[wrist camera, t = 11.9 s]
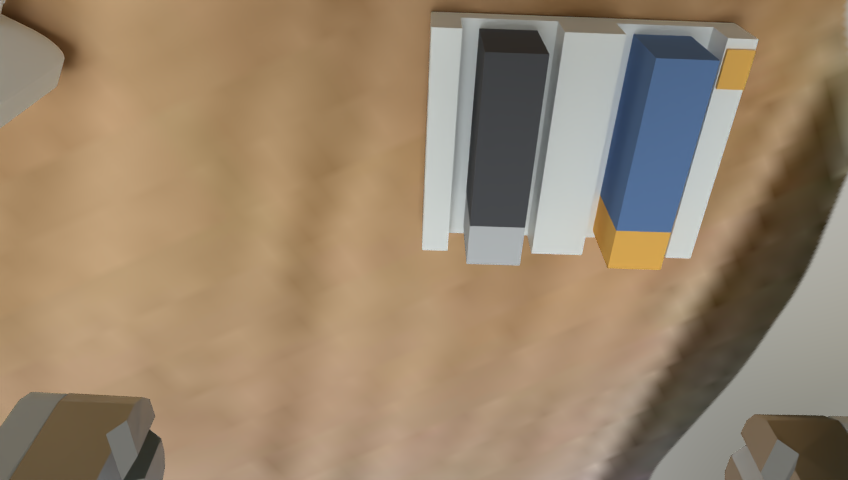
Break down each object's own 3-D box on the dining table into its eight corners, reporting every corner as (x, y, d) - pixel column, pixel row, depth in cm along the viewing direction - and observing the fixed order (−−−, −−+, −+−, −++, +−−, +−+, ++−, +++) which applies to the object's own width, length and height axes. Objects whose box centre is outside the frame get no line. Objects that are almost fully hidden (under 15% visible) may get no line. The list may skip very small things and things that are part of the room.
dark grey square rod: (479, 28, 34) (485, 51, 30) (537, 30, 34) (549, 54, 30) (463, 226, 40) (466, 263, 37) (511, 227, 40) (519, 265, 37)
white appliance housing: (430, 11, 34) (431, 28, 32) (734, 22, 35) (760, 40, 32) (422, 223, 41) (422, 251, 39) (674, 231, 42) (691, 260, 39)
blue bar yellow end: (633, 34, 34) (656, 58, 31) (691, 36, 34) (720, 60, 31) (592, 230, 40) (607, 268, 37) (640, 232, 40) (660, 269, 37)
